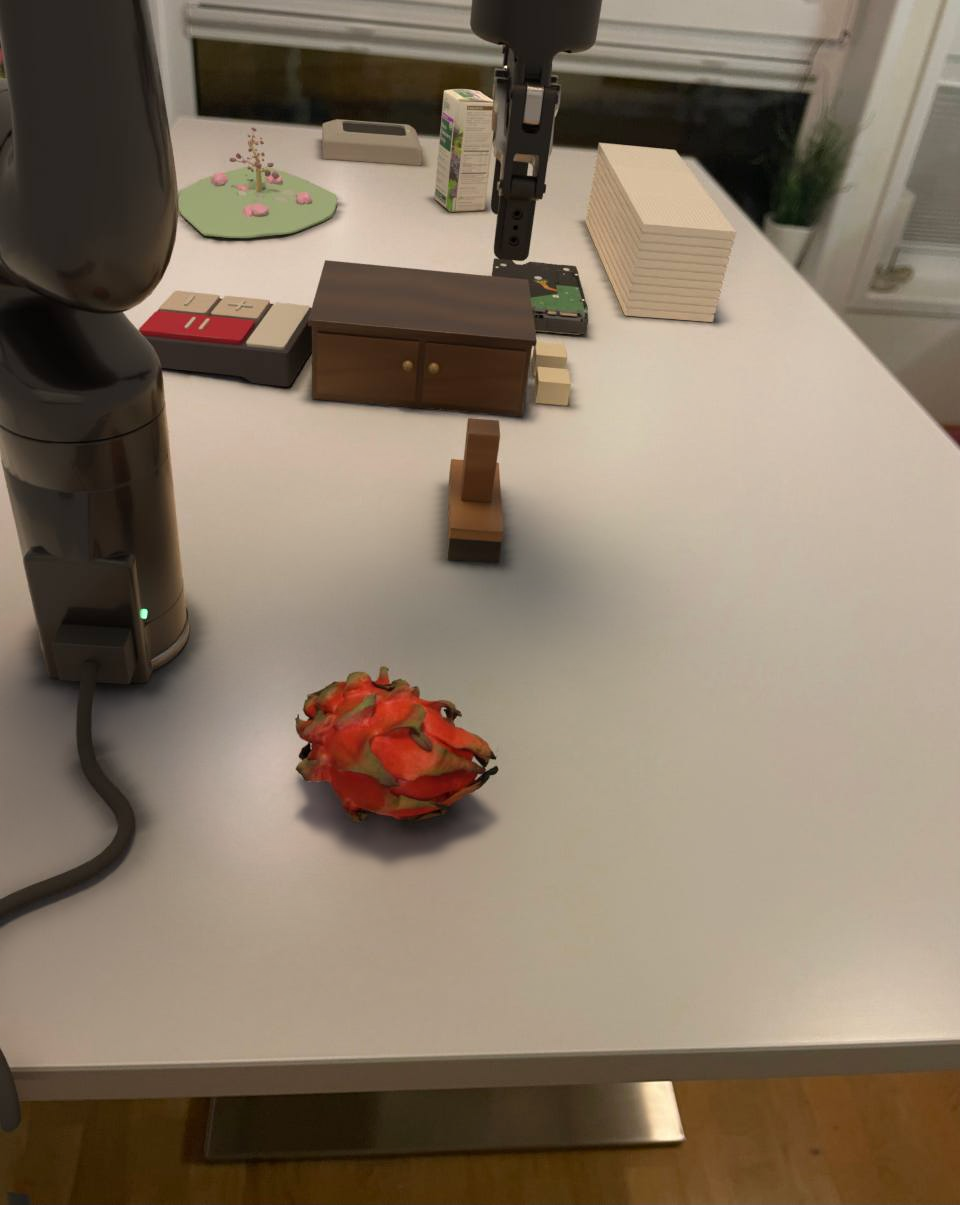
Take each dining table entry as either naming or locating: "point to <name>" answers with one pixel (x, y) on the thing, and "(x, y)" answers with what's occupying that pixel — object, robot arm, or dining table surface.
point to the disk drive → (550, 294)
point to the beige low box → (371, 142)
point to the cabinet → (421, 338)
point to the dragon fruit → (389, 748)
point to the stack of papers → (657, 233)
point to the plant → (254, 201)
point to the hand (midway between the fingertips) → (507, 235)
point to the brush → (476, 496)
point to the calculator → (231, 336)
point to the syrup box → (464, 150)
